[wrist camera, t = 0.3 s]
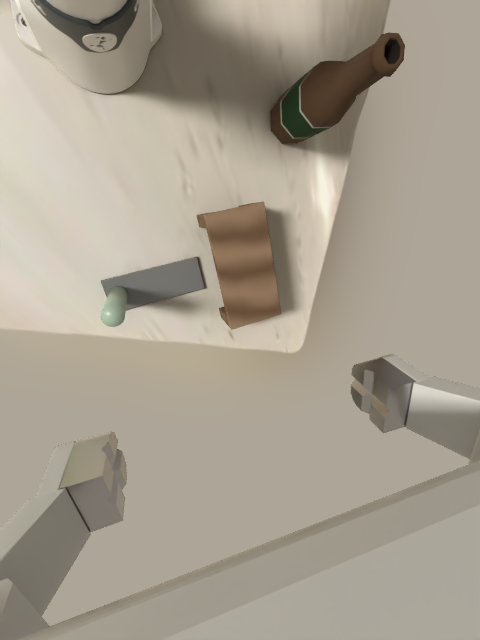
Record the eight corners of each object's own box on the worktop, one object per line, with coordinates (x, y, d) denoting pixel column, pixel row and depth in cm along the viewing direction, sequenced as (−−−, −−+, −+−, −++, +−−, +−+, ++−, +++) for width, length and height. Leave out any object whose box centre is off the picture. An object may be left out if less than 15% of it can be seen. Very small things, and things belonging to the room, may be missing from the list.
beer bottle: (260, 107, 50) (353, 21, 28) (297, 87, 51) (415, -12, 29) (278, 154, 53) (373, 109, 32) (313, 134, 54) (428, 77, 32)
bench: (196, 215, 52) (205, 214, 45) (248, 203, 54) (264, 201, 47) (221, 317, 60) (231, 329, 53) (265, 303, 62) (281, 313, 55)
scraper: (113, 312, 53) (105, 340, 40) (101, 280, 50) (88, 299, 38) (203, 287, 57) (221, 306, 44) (195, 256, 54) (212, 267, 42)
